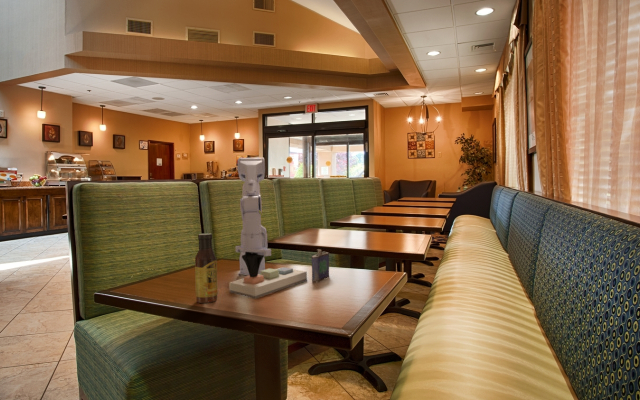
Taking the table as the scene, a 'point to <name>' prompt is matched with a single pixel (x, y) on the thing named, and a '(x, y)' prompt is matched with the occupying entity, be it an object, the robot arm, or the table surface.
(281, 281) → the keypad base
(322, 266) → the flask
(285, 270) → the slate key
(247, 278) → the terracotta key
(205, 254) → the sauce bottle
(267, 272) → the sage key
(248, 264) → the robot arm
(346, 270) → the table surface
